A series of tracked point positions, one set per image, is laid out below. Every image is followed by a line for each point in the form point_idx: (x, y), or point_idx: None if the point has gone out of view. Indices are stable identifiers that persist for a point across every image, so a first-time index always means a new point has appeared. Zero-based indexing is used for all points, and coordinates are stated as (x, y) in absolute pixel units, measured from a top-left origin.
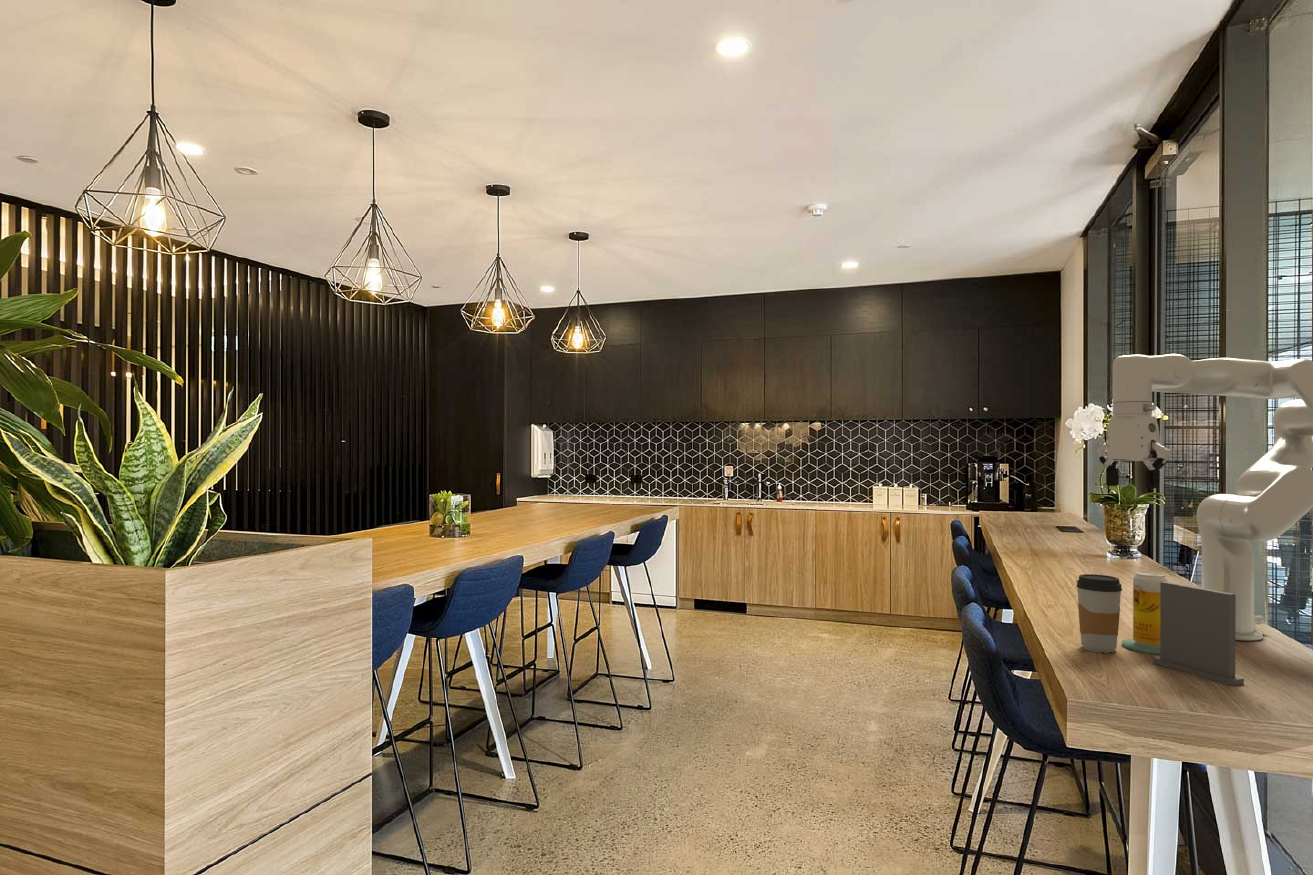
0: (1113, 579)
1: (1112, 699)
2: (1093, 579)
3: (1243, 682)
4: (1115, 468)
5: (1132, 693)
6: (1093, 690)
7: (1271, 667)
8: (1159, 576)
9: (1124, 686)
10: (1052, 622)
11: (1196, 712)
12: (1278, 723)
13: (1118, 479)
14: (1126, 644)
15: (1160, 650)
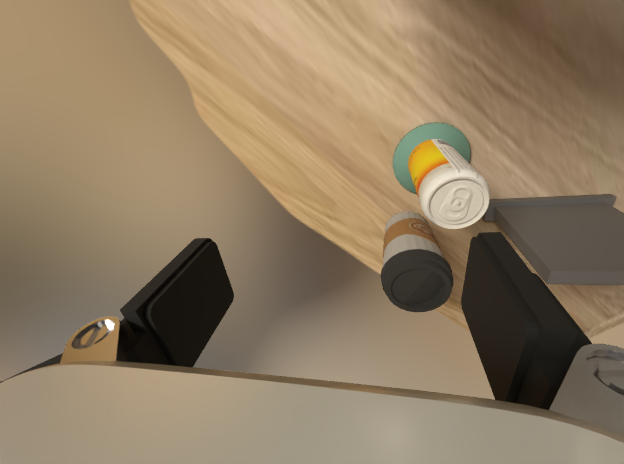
0: (433, 273)
1: None
2: (429, 310)
3: (612, 195)
4: (151, 335)
5: None
6: None
7: (605, 60)
8: (486, 209)
9: None
10: (268, 175)
11: (613, 317)
12: None
13: (195, 260)
14: (413, 189)
15: (497, 221)
